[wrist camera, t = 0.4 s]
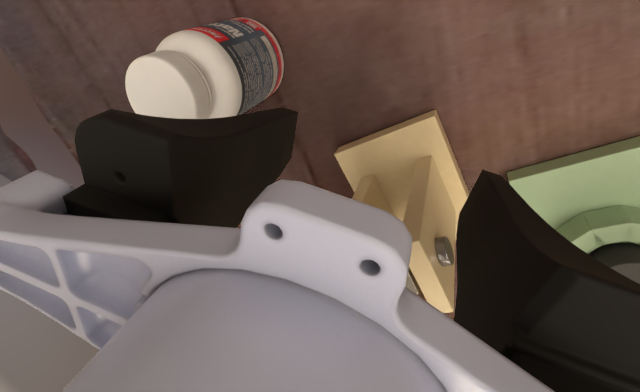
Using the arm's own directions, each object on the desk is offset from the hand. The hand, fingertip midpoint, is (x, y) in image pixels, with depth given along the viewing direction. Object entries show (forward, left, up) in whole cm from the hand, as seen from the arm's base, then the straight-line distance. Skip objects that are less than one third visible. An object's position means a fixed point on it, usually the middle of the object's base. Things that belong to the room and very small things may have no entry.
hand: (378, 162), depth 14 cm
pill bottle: (-1, +11, -10) cm, 15 cm away
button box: (-4, -14, -10) cm, 18 cm away
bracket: (-6, -2, -10) cm, 12 cm away
